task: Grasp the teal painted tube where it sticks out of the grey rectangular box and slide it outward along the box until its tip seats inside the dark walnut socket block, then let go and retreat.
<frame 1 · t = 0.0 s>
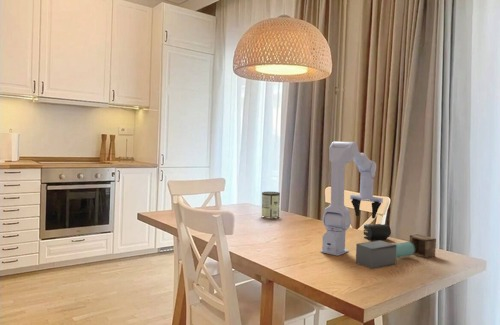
hand: (365, 216, 174), 10 cm above the table, fingers open, 7 cm apart
end cap: (376, 239, 175), on the table
socket block: (421, 254, 152), on the table
grey rectangular box: (375, 263, 139), on the table
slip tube: (388, 252, 142), point 3 cm above the table, slide at 0.0 cm
coffee can: (270, 217, 222), on the table
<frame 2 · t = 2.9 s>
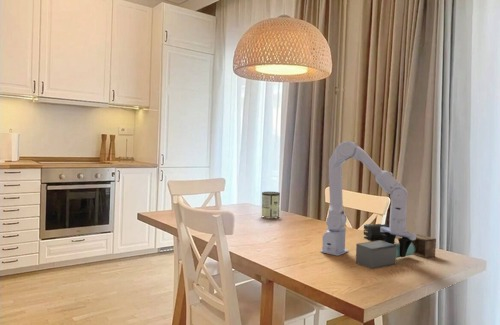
hand: (396, 254, 144), 2 cm above the table, fingers closed on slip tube, 5 cm apart
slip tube: (388, 252, 142), point 3 cm above the table, slide at 0.0 cm, touching gripper
everything else where it was.
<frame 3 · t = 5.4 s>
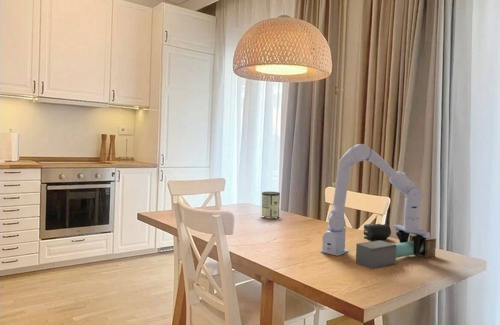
hand: (410, 252, 148), 2 cm above the table, fingers closed on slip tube, 5 cm apart
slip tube: (403, 249, 146), point 3 cm above the table, slide at 7.9 cm, touching gripper
everything else where it was.
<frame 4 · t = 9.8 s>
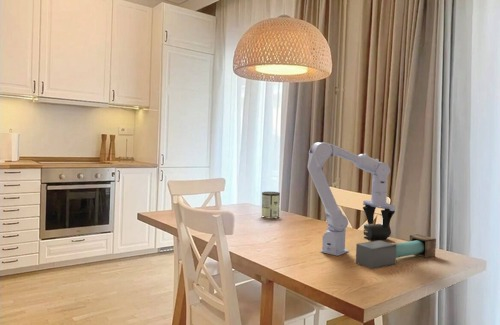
hand: (377, 225, 154), 10 cm above the table, fingers open, 7 cm apart
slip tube: (403, 249, 146), point 3 cm above the table, slide at 7.9 cm
everything else where it was.
at the end: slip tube slide at 7.9 cm; the gripper is holding nothing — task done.
